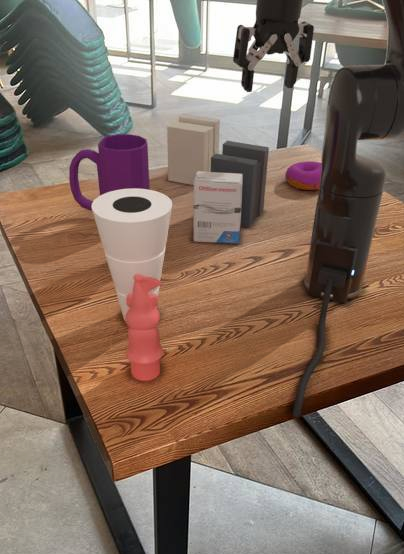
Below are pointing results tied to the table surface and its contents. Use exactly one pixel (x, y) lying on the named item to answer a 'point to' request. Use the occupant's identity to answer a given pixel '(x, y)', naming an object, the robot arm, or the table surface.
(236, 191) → the ink box
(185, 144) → the cream books
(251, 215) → the grey books
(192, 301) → the table surface
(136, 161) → the mug
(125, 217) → the cup
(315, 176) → the donut
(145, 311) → the figurine
